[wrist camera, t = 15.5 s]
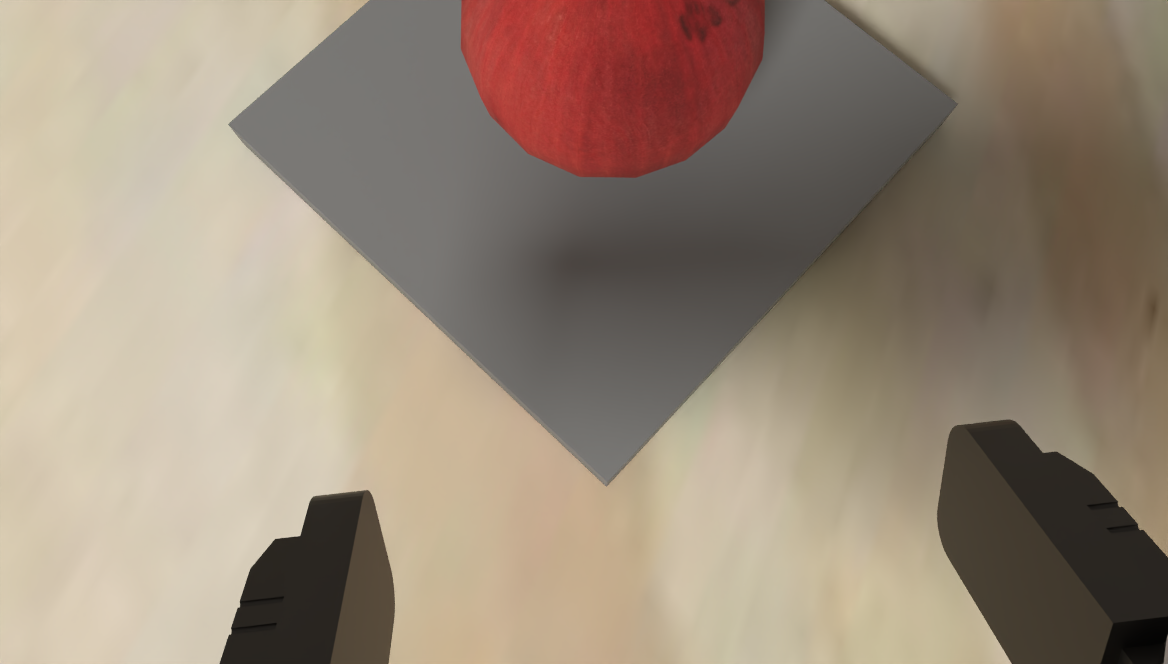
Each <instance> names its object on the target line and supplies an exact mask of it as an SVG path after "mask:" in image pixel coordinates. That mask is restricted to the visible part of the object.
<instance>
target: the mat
mask: <svg viewBox="0 0 1168 664" xmlns="http://www.w3.org/2000/svg"><path fill="white" fill-rule="evenodd" d="M957 105H958V104H957V103H956V102H955V101H954V100H952V99H951V98H950V97H948V96H947V95H946V94H945V93H943V92H942V91H941V90H939V89H938V88H937V87H936V86H934V85H933V84H932V83H930V82H929V81H928V80H927V79H925V78H924V77H923V76H921V75H920V74H919V73H917V72H916V71H915V70H914V69H912V68H911V67H910V66H908V65H907V64H906V63H905V62H903V61H902V60H901V59H899V58H898V57H897V56H896V55H894V54H893V53H892V52H890V51H889V50H888V49H887V48H885V47H884V46H883V45H881V44H880V43H879V42H877V41H876V40H875V39H874V38H872V37H871V36H870V35H868V34H867V33H866V32H865V31H863V30H862V29H861V28H859V27H858V26H857V25H856V24H854V23H853V22H852V21H850V20H849V19H848V18H846V17H845V16H844V15H843V14H841V13H840V12H839V11H837V10H836V9H835V8H834V7H832V6H831V5H830V4H828V3H827V2H826V1H825V0H765V35H764V47H763V59H762V61H761V63H760V65H759V67H758V69H757V71H756V73H755V75H754V77H753V79H752V81H751V83H750V85H749V87H748V89H747V91H746V93H745V95H744V97H743V99H742V100H741V102H740V104H739V106H738V108H737V110H736V112H735V113H734V115H733V116H732V118H731V119H730V121H729V123H728V124H727V126H726V127H725V129H723V130H722V131H721V132H720V133H718V134H717V135H716V136H715V137H714V138H712V139H711V140H710V141H709V142H708V143H706V144H705V145H704V146H703V147H701V148H700V149H699V150H698V151H697V152H695V153H694V154H693V155H692V156H690V157H689V158H688V159H687V160H685V161H682V162H679V163H677V164H674V165H671V166H668V167H665V168H662V169H660V170H657V171H654V172H651V173H648V174H645V175H642V176H640V177H637V178H616V177H579V176H576V175H574V174H572V173H570V172H567V171H565V170H563V169H561V168H558V167H556V166H554V165H552V164H550V163H547V162H545V161H543V160H541V159H538V158H536V157H534V156H532V155H529V154H528V153H527V152H526V151H525V150H524V149H523V148H522V147H521V146H520V145H519V144H518V143H517V142H516V141H515V140H514V139H513V138H512V137H511V136H510V135H509V134H508V133H507V132H506V131H505V130H504V129H503V128H502V127H501V126H500V125H499V124H498V123H497V122H496V121H495V120H494V119H493V118H492V117H491V116H490V114H489V113H488V111H487V109H486V107H485V105H484V103H483V101H482V99H481V97H480V95H479V92H478V90H477V87H476V85H475V83H474V80H473V78H472V75H471V73H470V70H469V68H468V65H467V63H466V61H465V58H464V56H463V53H462V51H461V0H369V1H368V2H367V3H366V4H365V5H364V6H363V7H361V8H360V9H359V10H358V11H357V12H356V13H355V14H353V15H352V16H351V17H350V18H349V19H348V20H347V21H345V22H344V23H343V24H342V25H341V26H340V27H339V28H337V29H336V30H335V31H334V32H333V33H332V34H331V35H329V36H328V37H327V38H326V39H325V40H324V41H323V42H321V43H320V44H319V45H318V46H317V47H316V48H315V49H314V50H312V51H311V52H310V53H309V54H308V55H307V56H306V57H304V58H303V59H302V60H301V61H300V62H299V63H298V64H296V65H295V66H294V67H293V68H292V69H291V70H290V71H288V72H287V73H286V74H285V75H284V76H283V77H282V78H280V79H279V80H278V81H277V82H276V83H275V84H274V85H272V86H271V87H270V88H269V89H268V90H267V91H266V92H264V93H263V94H262V95H261V96H260V97H259V98H258V99H256V100H255V101H254V102H253V103H252V104H251V105H250V106H248V107H247V108H246V109H245V110H244V111H243V112H242V113H240V114H239V115H238V116H237V117H236V118H235V119H234V120H232V121H231V122H230V123H229V124H228V125H229V126H230V127H231V128H232V130H233V131H234V132H235V133H236V135H237V136H238V137H239V138H240V140H241V141H242V142H243V143H244V144H245V145H246V146H247V147H248V148H249V149H250V150H251V151H252V152H253V153H254V154H255V155H256V156H257V157H258V158H259V159H260V160H261V161H263V162H264V163H265V164H266V165H267V166H268V167H269V168H270V169H271V170H272V171H273V172H274V173H275V174H276V175H277V176H278V177H279V178H281V179H282V180H283V181H284V182H285V183H286V184H287V185H288V186H289V187H290V188H291V189H292V190H293V191H294V192H295V193H296V194H297V195H298V196H300V197H301V198H302V199H303V200H304V201H305V202H306V203H307V204H308V205H309V206H310V207H311V208H312V209H313V210H314V211H315V212H316V213H318V214H319V215H320V216H321V217H322V218H323V219H324V220H325V221H326V222H327V223H328V224H329V225H330V226H331V227H332V228H333V229H334V230H336V231H337V232H338V233H339V234H340V235H341V236H342V237H343V238H344V239H345V240H346V241H347V242H348V243H349V244H350V245H351V246H352V247H354V248H355V249H356V250H357V251H358V252H359V253H360V254H361V255H362V256H363V257H364V258H365V259H366V260H367V261H368V262H369V263H370V264H371V265H373V266H374V267H375V268H376V269H377V270H378V271H379V272H380V273H381V274H382V275H383V276H384V277H385V278H386V279H387V280H388V281H389V282H391V283H392V284H393V285H394V286H395V287H396V288H397V289H398V290H399V291H400V292H401V293H402V294H403V295H404V296H405V297H406V298H407V299H409V300H410V301H411V302H412V303H413V304H414V305H415V306H416V307H417V308H418V309H419V310H420V311H421V312H422V313H423V314H424V315H425V316H426V317H428V318H429V319H430V320H431V321H432V322H433V323H434V324H435V325H436V326H437V327H438V328H439V329H440V330H441V331H442V332H443V333H444V334H446V335H447V336H448V337H449V338H450V339H451V340H452V341H453V342H454V343H455V344H456V345H457V346H458V347H459V348H460V349H461V350H462V351H464V352H465V353H466V354H467V355H468V356H469V357H470V358H471V359H472V360H473V361H474V362H475V363H476V364H477V365H478V366H479V367H480V368H482V369H483V370H484V371H485V372H486V373H487V374H488V375H489V376H490V377H491V378H492V379H493V380H494V381H495V382H496V383H497V384H498V385H499V386H501V387H502V388H503V389H504V390H505V391H506V392H507V393H508V394H509V395H510V396H511V397H512V398H513V399H514V400H515V401H516V402H517V403H519V404H520V405H521V406H522V407H523V408H524V409H525V410H526V411H527V412H528V413H529V414H530V415H531V416H532V417H533V418H534V419H535V420H537V421H538V422H539V423H540V424H541V425H542V426H543V427H544V428H545V429H546V430H547V431H548V432H549V433H550V434H551V435H552V436H553V437H555V438H556V439H557V440H558V441H559V442H560V443H561V444H562V445H563V446H564V447H565V448H566V449H567V450H568V451H569V452H570V453H571V454H572V455H574V456H575V457H576V458H577V459H578V460H579V461H580V462H581V463H582V464H583V465H584V466H585V467H586V468H587V469H588V470H589V471H590V472H592V473H593V474H594V475H595V476H596V477H597V478H598V479H599V480H600V481H601V482H602V483H603V484H604V485H605V486H606V487H607V485H608V484H609V483H610V482H611V481H612V480H613V479H614V478H615V477H616V476H617V475H618V474H619V473H620V471H621V470H622V469H623V468H624V467H625V466H626V465H627V464H628V463H629V462H630V461H631V460H632V458H633V457H634V456H635V455H636V454H637V453H638V452H639V451H640V450H641V449H642V448H643V447H644V445H645V444H646V443H647V442H648V441H649V440H650V439H651V438H652V437H653V436H654V435H655V434H656V433H657V431H658V430H659V429H660V428H661V427H662V426H663V425H664V424H665V423H666V422H667V421H668V420H669V418H670V417H671V416H672V415H673V414H674V413H675V412H676V411H677V410H678V409H679V408H680V407H681V406H682V404H683V403H684V402H685V401H686V400H687V399H688V398H689V397H690V396H691V395H692V394H693V393H694V391H695V390H696V389H697V388H698V387H699V386H700V385H701V384H702V383H703V382H704V381H705V380H706V379H707V377H708V376H709V375H710V374H711V373H712V372H713V371H714V370H715V369H716V368H717V367H718V366H719V364H720V363H721V362H722V361H723V360H724V359H725V358H726V357H727V356H728V355H729V354H730V353H731V352H732V350H733V349H734V348H735V347H736V346H737V345H738V344H739V343H740V342H741V341H742V340H743V339H744V337H745V336H746V335H747V334H748V333H749V332H750V331H751V330H752V329H753V328H754V327H755V326H756V325H757V323H758V322H759V321H760V320H761V319H762V318H763V317H764V316H765V315H766V314H767V313H768V312H769V310H770V309H771V308H772V307H773V306H774V305H775V304H776V303H777V302H778V301H779V300H780V299H781V297H782V296H783V295H784V294H785V293H786V292H787V291H788V290H789V289H790V288H791V287H792V286H793V285H794V283H795V282H796V281H797V280H798V279H799V278H800V277H801V276H802V275H803V274H804V273H805V272H806V270H807V269H808V268H809V267H810V266H811V265H812V264H813V263H814V262H815V261H816V260H817V259H818V258H819V256H820V255H821V254H822V253H823V252H824V251H825V250H826V249H827V248H828V247H829V246H830V245H831V243H832V242H833V241H834V240H835V239H836V238H837V237H838V236H839V235H840V234H841V233H842V232H843V231H844V229H845V228H846V227H847V226H848V225H849V224H850V223H851V222H852V221H853V220H854V219H855V218H856V216H857V215H858V214H859V213H860V212H861V211H862V210H863V209H864V208H865V207H866V206H867V205H868V204H869V202H870V201H871V200H872V199H873V198H874V197H875V196H876V195H877V194H878V193H879V192H880V191H881V189H882V188H883V187H884V186H885V185H886V184H887V183H888V182H889V181H890V180H891V179H892V178H893V176H894V175H895V174H896V173H897V172H898V171H899V170H900V169H901V168H902V167H903V166H904V165H905V164H906V162H907V161H908V160H909V159H910V158H911V157H912V156H913V155H914V154H915V153H916V152H917V151H918V149H919V148H920V147H921V146H922V145H923V144H924V143H925V142H926V141H927V140H928V139H929V138H930V137H931V135H932V134H933V133H934V132H935V131H936V130H937V129H938V128H939V127H940V126H941V125H942V123H943V122H944V121H945V120H946V118H947V117H948V116H949V115H950V113H951V112H952V111H953V110H954V108H955V107H956V106H957Z"/></svg>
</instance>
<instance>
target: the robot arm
mask: <svg viewBox="0 0 1168 664" xmlns="http://www.w3.org/2000/svg"><path fill="white" fill-rule="evenodd" d="M937 521H938V529H939V534H940V538H941V542H942V545H943V548H944V550H945V552H946V554H947V556H948V558H949V560H950V562H951V563H952V565H953V566H954V568H955V570H956V571H957V573H958V575H959V576H960V578H961V580H962V581H963V583H964V585H965V586H966V588H967V590H968V591H969V593H970V595H971V596H972V598H973V600H974V601H975V603H976V605H977V606H978V608H979V610H980V611H981V613H982V615H983V616H984V618H985V620H986V621H987V623H988V625H989V626H990V628H991V630H992V631H993V633H994V635H995V636H996V638H997V640H998V641H999V643H1000V645H1001V646H1002V648H1003V650H1004V651H1005V653H1006V655H1007V656H1008V658H1009V660H1010V661H1011V663H1012V664H1168V557H1167V556H1166V555H1165V554H1164V553H1163V552H1162V550H1161V549H1160V548H1159V547H1158V546H1157V545H1156V544H1155V543H1154V542H1153V540H1152V539H1151V538H1150V537H1149V536H1148V535H1147V534H1146V533H1145V531H1144V530H1139V529H1138V524H1137V523H1136V521H1135V520H1134V519H1133V518H1132V517H1131V516H1130V515H1129V514H1128V512H1127V511H1126V510H1125V509H1124V508H1123V507H1119V506H1118V501H1117V500H1116V499H1115V498H1114V497H1113V496H1112V495H1111V493H1110V492H1109V491H1108V490H1107V489H1106V488H1105V487H1104V486H1103V485H1102V483H1101V482H1100V481H1099V480H1098V479H1097V478H1096V477H1095V476H1094V474H1092V473H1091V472H1089V471H1087V470H1086V469H1084V468H1083V467H1081V466H1079V465H1078V464H1076V463H1074V462H1073V461H1071V460H1069V459H1068V458H1066V457H1065V456H1063V455H1061V454H1060V453H1058V452H1049V453H1042V451H1041V450H1040V449H1039V448H1038V447H1037V446H1036V444H1035V443H1034V442H1033V441H1032V440H1031V438H1030V437H1029V436H1028V435H1027V434H1026V433H1025V431H1024V430H1023V429H1022V428H1021V427H1020V426H1019V425H1018V424H1017V423H1016V422H1015V421H1012V420H1000V421H992V422H983V423H974V424H965V425H957V426H955V427H954V428H952V430H951V432H950V434H949V438H948V444H947V451H946V457H945V464H944V470H943V477H942V483H941V490H940V496H939V503H938V511H937ZM394 613H395V597H394V584H393V577H392V572H391V568H390V564H389V560H388V556H387V552H386V548H385V544H384V540H383V536H382V532H381V528H380V524H379V520H378V516H377V511H376V507H375V504H374V500H373V497H372V495H371V493H370V492H369V491H368V490H365V491H356V492H347V493H339V494H330V495H321V496H314V497H313V498H312V499H311V501H310V503H309V506H308V510H307V514H306V517H305V521H304V525H303V529H302V532H301V536H298V537H289V538H280V539H275V540H274V541H273V542H272V544H271V545H270V546H269V547H268V548H267V550H266V551H265V552H264V553H263V554H262V556H261V557H260V558H259V559H258V560H257V562H256V563H255V564H254V565H253V566H252V568H251V569H250V572H249V575H248V578H247V581H246V584H245V587H244V590H243V593H242V596H241V599H240V608H238V609H237V612H236V615H235V618H234V621H233V624H232V627H231V630H232V633H231V635H229V636H228V639H227V642H226V646H225V649H224V652H223V655H222V658H221V661H220V664H388V663H389V655H390V647H391V639H392V632H393V624H394Z"/></svg>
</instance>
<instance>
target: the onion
mask: <svg viewBox="0 0 1168 664" xmlns="http://www.w3.org/2000/svg"><path fill="white" fill-rule="evenodd" d="M764 35H765V0H461V51H462V53H463V56H464V58H465V61H466V63H467V65H468V68H469V70H470V73H471V75H472V78H473V80H474V83H475V85H476V87H477V90H478V92H479V95H480V97H481V99H482V101H483V103H484V105H485V107H486V109H487V111H488V113H489V114H490V116H491V117H492V118H493V119H494V120H495V121H496V122H497V123H498V124H499V125H500V126H501V127H502V128H503V129H504V130H505V131H506V132H507V133H508V134H509V135H510V136H511V137H512V138H513V139H514V140H515V141H516V142H517V143H518V144H519V145H520V146H521V147H522V148H523V149H524V150H525V151H526V152H527V153H528V154H529V155H532V156H534V157H536V158H538V159H541V160H543V161H545V162H547V163H550V164H552V165H554V166H556V167H558V168H561V169H563V170H565V171H567V172H570V173H572V174H574V175H576V176H579V177H616V178H637V177H640V176H642V175H645V174H648V173H651V172H654V171H657V170H660V169H662V168H665V167H668V166H671V165H674V164H677V163H679V162H682V161H685V160H687V159H688V158H689V157H690V156H692V155H693V154H694V153H695V152H697V151H698V150H699V149H700V148H701V147H703V146H704V145H705V144H706V143H708V142H709V141H710V140H711V139H712V138H714V137H715V136H716V135H717V134H718V133H720V132H721V131H722V130H723V129H725V127H726V126H727V124H728V123H729V121H730V119H731V118H732V116H733V115H734V113H735V112H736V110H737V108H738V106H739V104H740V102H741V100H742V99H743V97H744V95H745V93H746V91H747V89H748V87H749V85H750V83H751V81H752V79H753V77H754V75H755V73H756V71H757V69H758V67H759V65H760V63H761V61H762V59H763V47H764Z"/></svg>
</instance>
